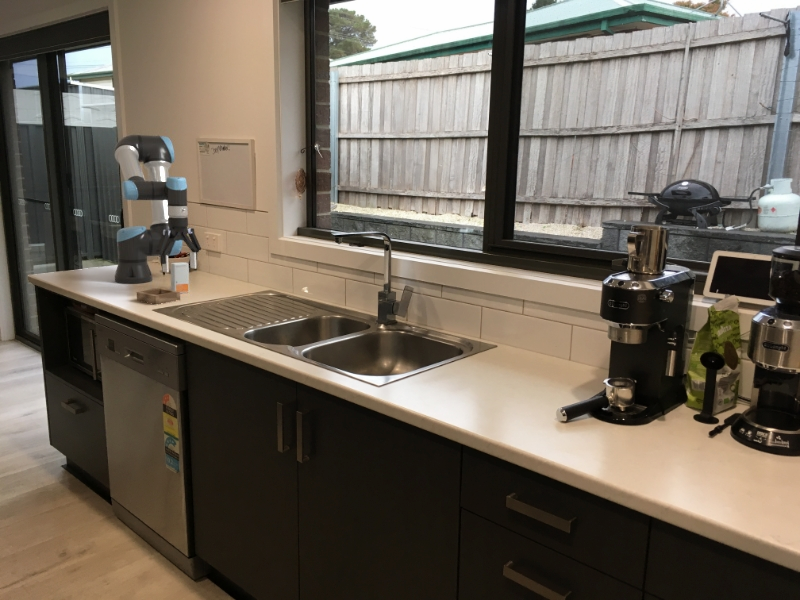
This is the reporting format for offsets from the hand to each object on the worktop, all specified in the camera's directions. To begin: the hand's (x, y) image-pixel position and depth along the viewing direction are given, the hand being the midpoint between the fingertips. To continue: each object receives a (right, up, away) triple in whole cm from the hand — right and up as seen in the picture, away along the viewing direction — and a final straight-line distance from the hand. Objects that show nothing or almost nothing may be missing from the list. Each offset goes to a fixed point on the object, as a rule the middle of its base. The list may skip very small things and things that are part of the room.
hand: (179, 270), depth 256 cm
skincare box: (-1, -9, +2) cm, 9 cm away
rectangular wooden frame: (-3, -12, -13) cm, 18 cm away
